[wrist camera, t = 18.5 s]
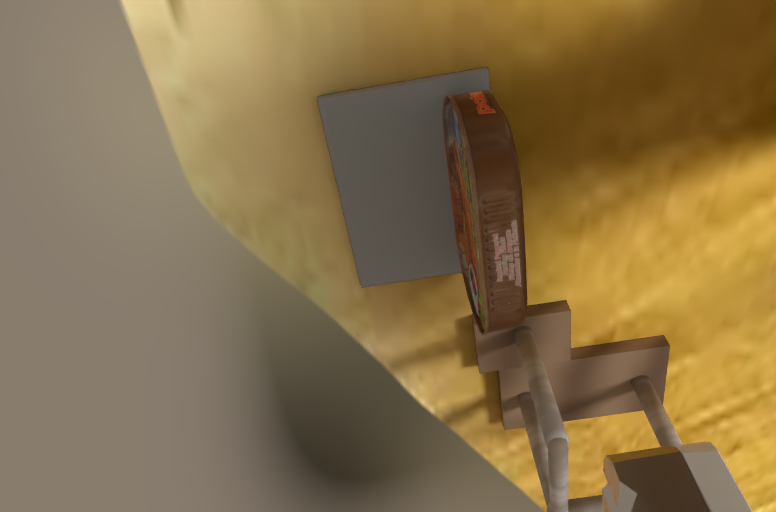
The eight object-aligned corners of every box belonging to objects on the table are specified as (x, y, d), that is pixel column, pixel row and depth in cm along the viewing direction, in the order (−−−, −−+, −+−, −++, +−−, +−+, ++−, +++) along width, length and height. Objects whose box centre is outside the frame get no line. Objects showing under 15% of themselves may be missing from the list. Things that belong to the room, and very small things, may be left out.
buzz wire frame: (669, 284, 48) (751, 412, 38) (656, 396, 55) (723, 529, 45) (471, 314, 49) (501, 446, 39) (483, 421, 56) (512, 556, 46)
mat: (487, 67, 38) (488, 70, 38) (501, 260, 46) (503, 265, 46) (317, 96, 39) (317, 99, 38) (361, 282, 47) (361, 287, 46)
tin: (436, 73, 38) (454, 135, 31) (491, 64, 37) (522, 125, 30) (460, 280, 46) (479, 365, 39) (505, 273, 46) (531, 357, 39)
